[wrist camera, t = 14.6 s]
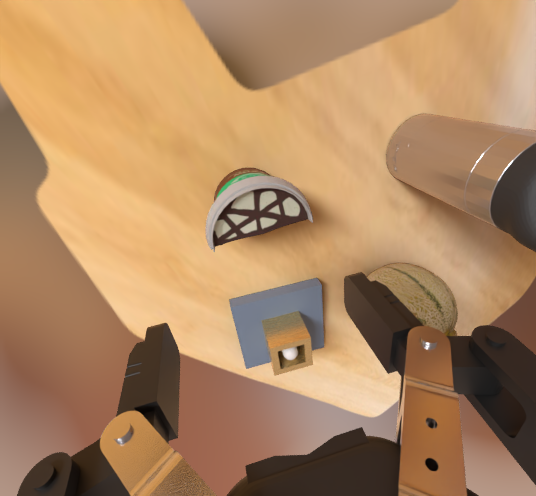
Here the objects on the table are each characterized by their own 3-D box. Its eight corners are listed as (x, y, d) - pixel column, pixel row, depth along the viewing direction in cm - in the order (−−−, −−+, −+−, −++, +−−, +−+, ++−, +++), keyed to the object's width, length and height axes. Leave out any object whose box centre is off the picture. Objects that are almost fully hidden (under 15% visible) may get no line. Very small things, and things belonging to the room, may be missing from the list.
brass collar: (298, 310, 50) (310, 337, 45) (301, 337, 53) (312, 364, 48) (261, 320, 49) (269, 348, 44) (266, 346, 52) (274, 375, 47)
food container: (283, 147, 38) (310, 167, 30) (291, 191, 41) (317, 221, 33) (189, 172, 37) (189, 200, 28) (204, 216, 40) (209, 253, 32)
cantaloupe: (324, 286, 51) (369, 355, 39) (394, 230, 49) (466, 284, 36) (365, 325, 59) (413, 394, 46) (427, 278, 56) (496, 337, 43)
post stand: (317, 277, 50) (337, 310, 43) (320, 339, 58) (338, 374, 51) (229, 299, 48) (235, 337, 41) (244, 360, 56) (252, 400, 49)
